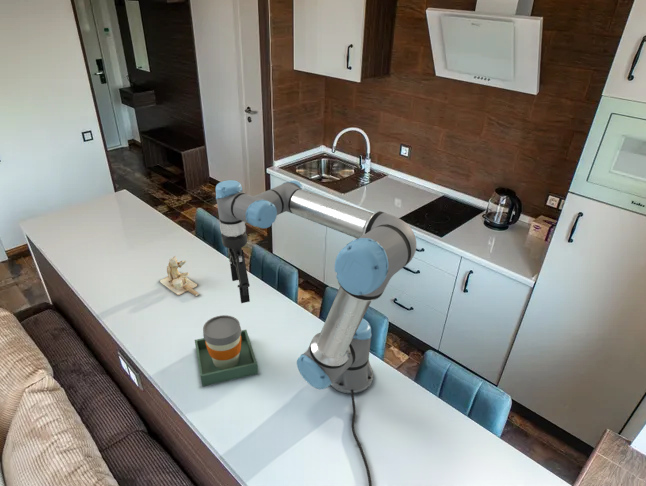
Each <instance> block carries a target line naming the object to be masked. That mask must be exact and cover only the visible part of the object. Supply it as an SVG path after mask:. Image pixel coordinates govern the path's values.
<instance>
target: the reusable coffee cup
mask: <svg viewBox="0 0 646 486" xmlns="http://www.w3.org/2000/svg"><path fill="white" fill-rule="evenodd" d="M202 327H203V328H202V336H203V337H202V338H204V339H205V343H206V347H207V350H208V352H209V355H210V356H211V357H212V360H213V363H214V365H215V366H216V367H217V368H219V369H229V368H232V367H234V366H236V365H237V364H238V362H239V354H240V350H241V331H242V327H241V323H240V321H239V320H238V319H237V318H236V317H235V316H232V315H227V314H225V315H216V316H214V317H212V318H210V319H208V320H207V321H206V322H205V323H204V324H203V326H202Z"/></svg>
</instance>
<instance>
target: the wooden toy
mask: <svg viewBox="0 0 646 486" xmlns="http://www.w3.org/2000/svg"><path fill="white" fill-rule="evenodd" d="M186 263H187V260H180V261H178V259H177V256H176V255H174V256H172V257H170V258H169V261H168V265H167V266H166V273H167V276H166V277H164V278H162V279H160V281H159V282H160V283H161V284H162V285H163V286H164V287H166V288H168V289H169V290H170V292H172V293H174V294H175V295H176V296H180V295H183V294H184V293H186V292H188V293H191V294H192V295H193V296H194V297H198V296H199V295H200V293H199V292H198V291H197V290H195V289H194V288H197V287H198V284H197V283H196V282H194V281H192V280H191V279H190V278H188V277H189V276H190V273H189V272H182V273H181V272H179V268H180V269H181V268H182V267H183V266H184V265H185V264H186Z"/></svg>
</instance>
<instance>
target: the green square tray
mask: <svg viewBox="0 0 646 486" xmlns="http://www.w3.org/2000/svg"><path fill="white" fill-rule="evenodd" d="M251 343H252V342H251V339H250V336H249V333H248V330H247V329H243V330H242V329H241V350H240V354H239V362H238V364H237V365H236V366H234V367H232V368H229V369H219V368H217V367H216V366H215V365H214V363H213V360H212V357H211V356H210V355H209V352H208V350H207V347H206V343H205V339H204V337H201V338H198V339H194V345H195V352H196V358H197V364H198V371H199V377H200V382H201V387H206V386H211V385H214V384H220V383H223V382H228V381H232V380H237V379H242V378H246V377H250V376H255V375H258V374H259V370H258V369H259V368H258V362H257V359H256V355H255V352H254V349H253V346H252V344H251Z"/></svg>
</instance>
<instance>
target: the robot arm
mask: <svg viewBox="0 0 646 486" xmlns="http://www.w3.org/2000/svg"><path fill="white" fill-rule="evenodd" d="M243 190H244V189H243V187H242V183H241V182H239V181H238V180H233V179H228V180H223V181H220V182H218V183H217V184H216V185H215V200H216V206H217V212H218V213H217V214H218V222H219V229H220V233H221V234H220V235H221V242H222V245H223V247H225V248H226V249H227V258H228V259H229V260H228V261H229V266H230V273H231V274H230V275H231V281H232V282H235V281H236V282H237V281H238V284H237V288H238V289H239V298H240V303H241V304H245V303H249V302H251V299H250V290H249V289H250V288H249V287H250V286H251V285H250V282H249V276H248V270H247V264H246V256H245V253H244V249H243V247H245V246H246V245H247V244H248V235H247V226H246V224H249V225H250V226H253V227H257V228H259V229H268V228H270V227H272V225H273V223H275V221H276V219H277V216H279V215H281V214H283V213H285V212H287V213H290V214H293V215H294V216H295V215H296V216H298V217H300V218H304V219H305V220H308V221H311V222H313V223H316V224H319V225H321V226H324V227H326V228H329V229H331V230H334V231H336V232H339V233H342V234H344V235H347V236H349V237H352V238H354V239H353V240H350V242H349V243H347V244H346V245H345V246H343V248H342V249H341V250H340V251H339V252H338V254H337V255H336V258H335V261H334V272H335V273H336V276H335V277H336V279H337V284H338V285H339V288H338V290H337V293H336V294H335V297H334V300H333V302H332V304H331V307H330V309H329V311H328V314H327V316H326V319H325V321H324V324H323V326H322V328H321V331H320V332H318V333H316V334H315V335H314V336H313V337H312V339H311V341H310V343H309V346H308V349H306V351H304V353H302V354H300V356H299V357H298V358H297V359H296V367H297V370H298V372H299V374H300V375H301V377H302V378H303V379H304V380H305V382H307V383H308V384H309V385H310V386H311V387H313V388H315V389H318V390H324V389H327V388H328V387H331V388H332V389H334V390H336V391H337V392H340V393H343V394H348V395H351V403H352V417H351V432H352V435H353V438H354V441H355V442H356V445H357V448H358V449H359V453H360V455H361V458H362V461H363V464H364V467H365V471H366V475H367V481H368V486H373V483H372V476H371V472H370V467H369V464H368V461H367V458H366V456H365V452H364V450H363V447H362V445H361V443H360V441H359V439H358V437H357V433H356V430H355V422H356V412H357V410H356V409H357V408H356V402H355V395H356V394H360V393H362V392H365V391H366V390H368V389H369V388H370V387H371V385H372V383H373V381H374V378H373V377H374V372H373V369H372V366H371V363H370V349H371V341H372V327H371V324H370V323H369V322H368V320H366V319H365V318H364V317H365V315H366V313H367V311H368V309H369V308H370V305H371V304H372V302H373V301H375V300H378V299H379V298H381V297H382V295H383V293H385V290H386V288H387V286H388V284H389V283H390V280H391V279H392V277H393V276H395V275H396V274H397V273H398V272H400V271H401V270H402V269H403V268H405V267H406V266H407V265H409V263H410V262H411V261H412V260H413V259H414V257H415V254H416V251H417V237H416V235H415V233H414V231H413V230H412V228H411V226H410V225H409V224H408V223H406V221H404V220H403V219H401V218H400V217H397V216H395V215H392V214H389V213H387V212H384V211H380V210H378V211H375V212H371V211H368V210H365V209H362V208H359V207H356V206H354V205H350V204H347V203H344V202H342V201H338V200H336V199H333V198H329V197H327V196H323V195H320V194H317V193H315V192H312V191H308V190H306V188H305V186H304V185H303V184H301V182H300V181H298V180H289V181H286V182H283V183H281V184H279V185H277V186H274V187H272V188H270V189H267V190H265V191H263V192H260V193H258V194H256V195H251V194H248V193H245V192H243Z"/></svg>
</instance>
